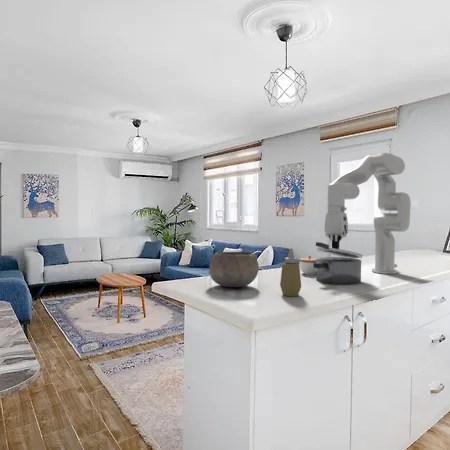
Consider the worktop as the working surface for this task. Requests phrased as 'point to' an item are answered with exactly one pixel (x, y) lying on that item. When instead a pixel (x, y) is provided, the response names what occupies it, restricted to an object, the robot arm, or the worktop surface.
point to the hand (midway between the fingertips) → (335, 249)
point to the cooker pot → (338, 270)
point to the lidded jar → (308, 265)
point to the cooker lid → (336, 251)
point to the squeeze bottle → (290, 276)
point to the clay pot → (233, 268)
